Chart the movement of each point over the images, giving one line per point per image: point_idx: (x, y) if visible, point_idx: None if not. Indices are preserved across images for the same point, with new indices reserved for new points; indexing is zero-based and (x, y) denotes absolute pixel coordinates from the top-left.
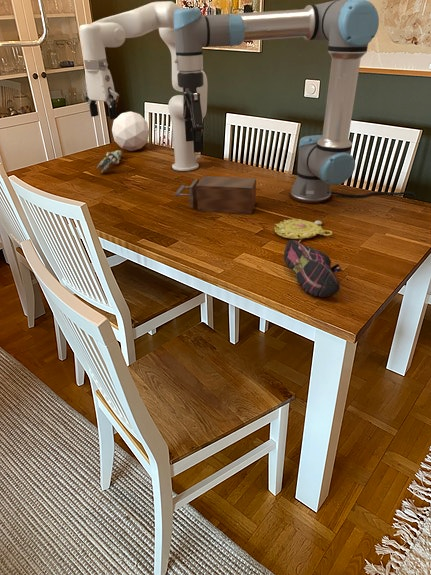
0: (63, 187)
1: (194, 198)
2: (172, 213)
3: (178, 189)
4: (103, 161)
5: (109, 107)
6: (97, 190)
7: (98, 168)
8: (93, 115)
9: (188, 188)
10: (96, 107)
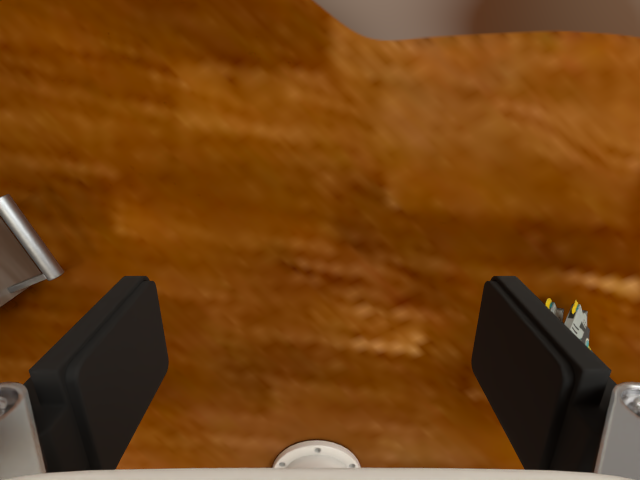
0: (612, 113)
1: None
2: (15, 138)
3: (25, 236)
4: None
5: (55, 394)
6: (444, 165)
7: (571, 306)
8: (488, 298)
9: (32, 277)
10: (517, 432)
